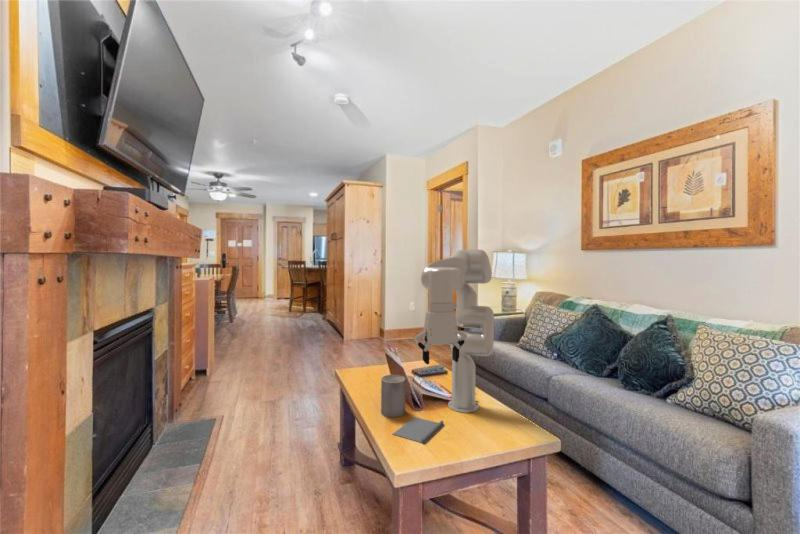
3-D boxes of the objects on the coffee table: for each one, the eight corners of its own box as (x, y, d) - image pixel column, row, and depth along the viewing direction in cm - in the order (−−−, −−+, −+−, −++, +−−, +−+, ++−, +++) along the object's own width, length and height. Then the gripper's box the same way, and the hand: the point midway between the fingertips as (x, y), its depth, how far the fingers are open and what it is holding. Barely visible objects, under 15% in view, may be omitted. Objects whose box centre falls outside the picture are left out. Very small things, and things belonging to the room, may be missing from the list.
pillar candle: (388, 406, 147) (388, 370, 147) (409, 410, 143) (409, 373, 143) (376, 415, 139) (376, 376, 139) (398, 419, 134) (398, 380, 134)
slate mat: (414, 417, 136) (414, 413, 136) (444, 425, 130) (444, 421, 130) (392, 435, 122) (392, 430, 122) (424, 444, 116) (424, 439, 116)
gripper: (461, 305, 117) (461, 356, 117) (411, 307, 112) (411, 360, 113) (471, 308, 110) (471, 363, 110) (418, 310, 105) (418, 367, 106)
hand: (441, 362), depth 111 cm, fingers open, 9 cm apart
